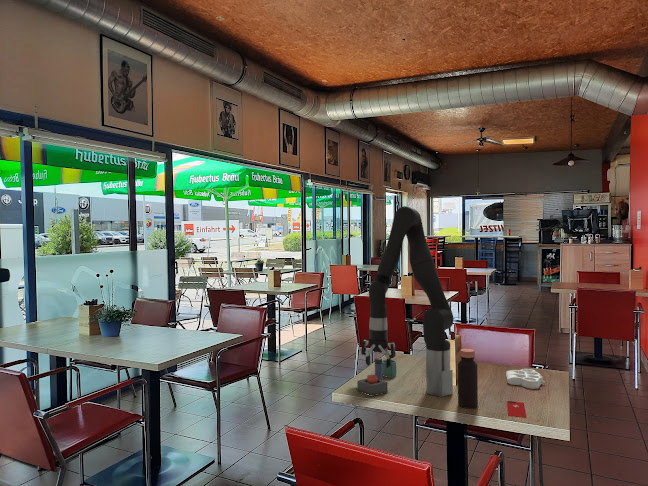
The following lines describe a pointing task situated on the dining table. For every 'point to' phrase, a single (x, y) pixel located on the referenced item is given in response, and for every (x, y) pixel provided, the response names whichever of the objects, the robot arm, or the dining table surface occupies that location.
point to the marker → (378, 368)
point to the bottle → (467, 380)
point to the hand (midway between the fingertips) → (378, 366)
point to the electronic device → (516, 409)
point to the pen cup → (391, 370)
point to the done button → (371, 379)
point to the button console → (372, 387)
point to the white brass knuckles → (524, 378)
